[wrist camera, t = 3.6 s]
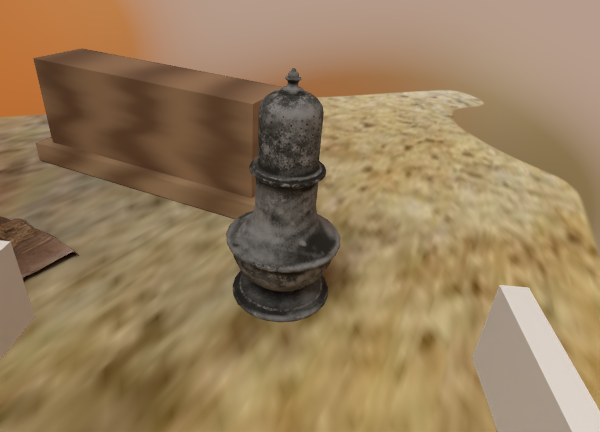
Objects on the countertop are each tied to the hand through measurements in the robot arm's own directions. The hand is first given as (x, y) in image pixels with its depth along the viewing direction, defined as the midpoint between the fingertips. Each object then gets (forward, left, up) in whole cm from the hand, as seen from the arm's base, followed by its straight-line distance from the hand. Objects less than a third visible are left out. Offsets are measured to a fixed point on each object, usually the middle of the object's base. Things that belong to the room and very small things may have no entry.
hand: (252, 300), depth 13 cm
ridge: (-17, +17, -8) cm, 26 cm away
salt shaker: (-3, +9, -8) cm, 13 cm away
